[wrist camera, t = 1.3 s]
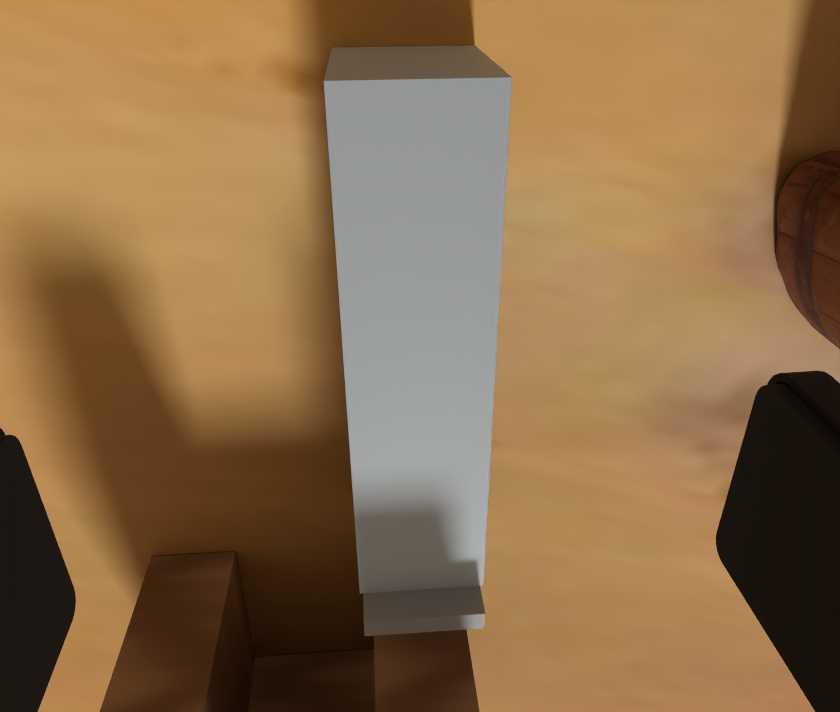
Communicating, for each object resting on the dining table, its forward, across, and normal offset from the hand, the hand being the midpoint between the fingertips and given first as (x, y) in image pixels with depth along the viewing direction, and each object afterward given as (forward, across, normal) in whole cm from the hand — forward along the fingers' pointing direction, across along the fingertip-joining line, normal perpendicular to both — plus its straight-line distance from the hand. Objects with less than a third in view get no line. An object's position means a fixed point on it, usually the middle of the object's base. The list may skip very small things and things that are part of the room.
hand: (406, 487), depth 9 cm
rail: (+12, -1, +3) cm, 13 cm away
